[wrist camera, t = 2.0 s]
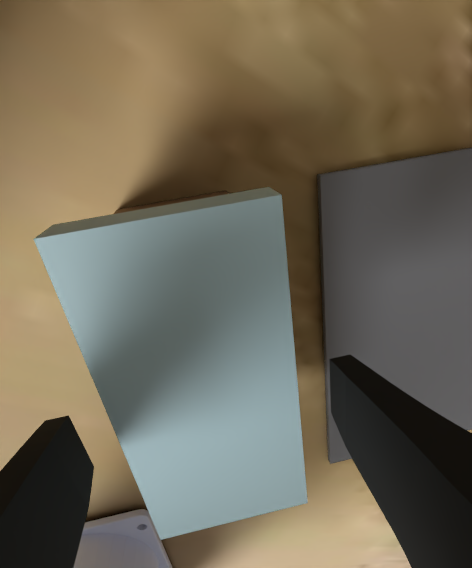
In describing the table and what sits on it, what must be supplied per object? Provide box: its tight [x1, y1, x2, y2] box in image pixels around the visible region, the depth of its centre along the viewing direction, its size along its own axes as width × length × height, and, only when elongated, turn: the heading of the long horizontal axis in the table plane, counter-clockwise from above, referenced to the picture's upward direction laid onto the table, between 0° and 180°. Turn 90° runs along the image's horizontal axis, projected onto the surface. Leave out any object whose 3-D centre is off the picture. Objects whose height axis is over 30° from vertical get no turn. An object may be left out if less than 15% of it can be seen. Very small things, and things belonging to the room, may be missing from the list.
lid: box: [34, 187, 308, 540], centre depth 10 cm, size 11×5×1 cm, turn 8°
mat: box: [317, 148, 472, 464], centre depth 16 cm, size 16×9×1 cm, turn 9°
